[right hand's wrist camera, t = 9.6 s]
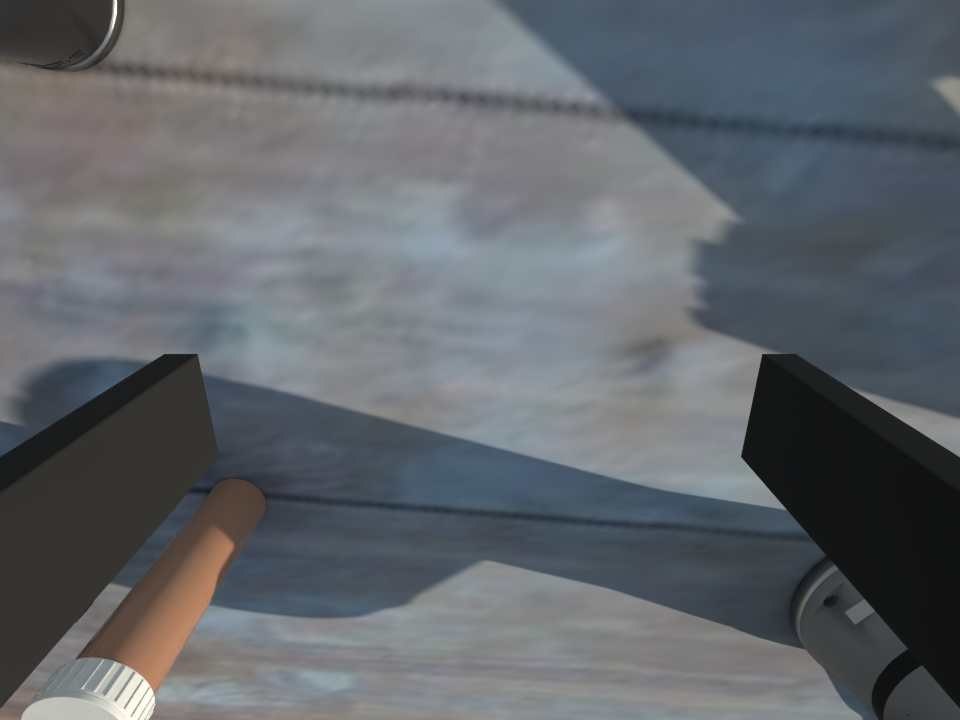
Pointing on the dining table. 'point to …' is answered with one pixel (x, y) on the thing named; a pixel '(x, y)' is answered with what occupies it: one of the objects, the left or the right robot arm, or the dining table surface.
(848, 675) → the right robot arm
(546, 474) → the dining table surface
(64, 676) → the lid
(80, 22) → the left robot arm
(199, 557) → the brown tube
